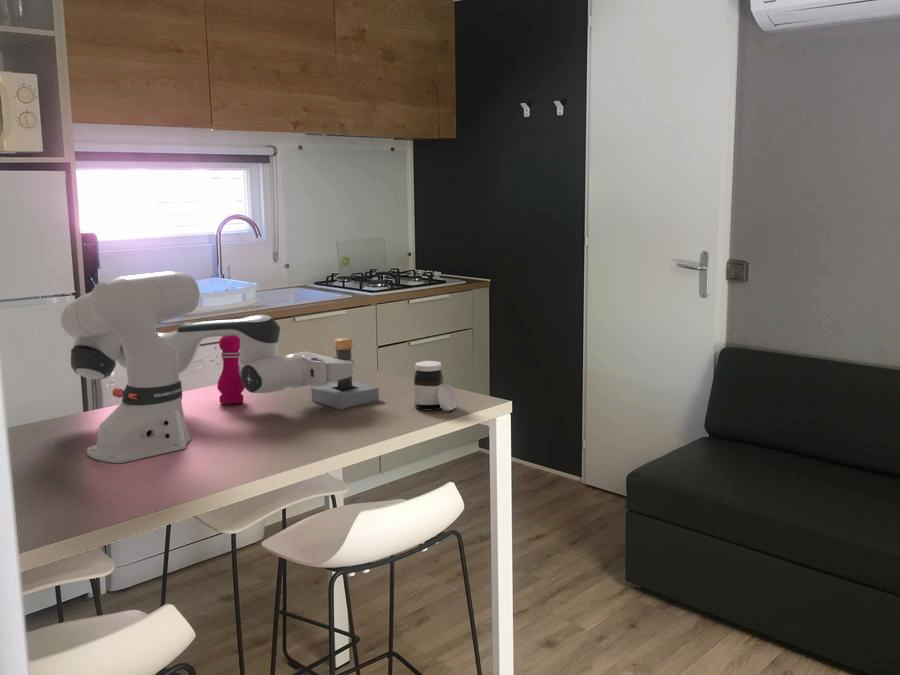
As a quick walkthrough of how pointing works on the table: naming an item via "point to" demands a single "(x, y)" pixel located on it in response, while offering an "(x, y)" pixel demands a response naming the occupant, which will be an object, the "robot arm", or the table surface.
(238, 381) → the pepper mill
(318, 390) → the socket
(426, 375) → the spread jar
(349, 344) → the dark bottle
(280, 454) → the table surface
